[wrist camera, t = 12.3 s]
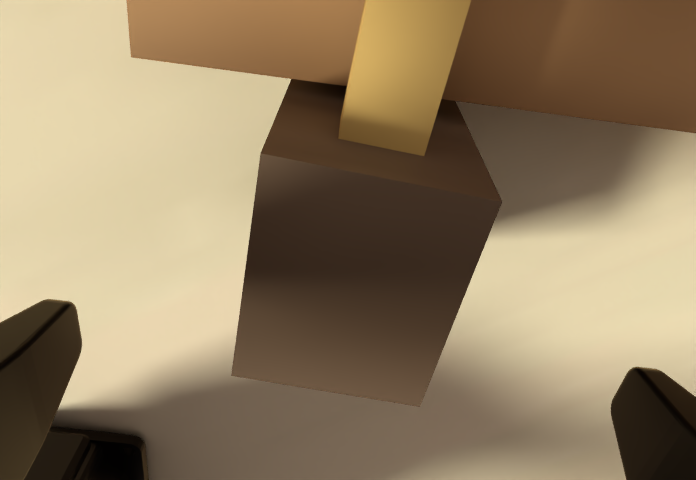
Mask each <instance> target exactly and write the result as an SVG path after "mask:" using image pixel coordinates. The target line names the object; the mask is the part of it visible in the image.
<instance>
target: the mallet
mask: <svg viewBox="0 0 696 480" xmlns="http://www.w3.org/2000/svg"><path fill="white" fill-rule="evenodd" d="M470 3H471V0H365V2H364V7H363V11H362V16H361V21H360V26H359V31H358V36H357V40H356V45H355V50H354V55H353V60H352V65H351V70H350V74H349V79H348V84H347V86H342V85H334V84H327V83H319V82H312V81H305V80H297V79H291V82H290V84H289V86H288V89H287V91H286V94H285V96H284V99H283V101H282V103H281V106H280V108H279V111H278V113H277V115H276V118H275V120H274V123H273V125H272V127H271V130H270V132H269V135H268V137H267V139H266V142H265V144H264V147H263V149H262V151H261V155H260V163H259V170H258V178H257V185H256V193H255V201H254V208H253V216H252V223H251V231H250V239H249V246H248V254H247V261H246V269H245V277H244V284H243V292H242V299H241V307H240V315H239V322H238V330H237V337H236V345H235V353H234V360H233V368H232V375H231V376H237V377H243V378H249V379H255V380H261V381H267V382H273V383H279V384H285V385H291V386H297V387H303V388H310V389H316V390H322V391H328V392H334V393H340V394H346V395H352V396H358V397H364V398H370V399H376V400H382V401H388V402H394V403H401V404H407V405H413V406H419V407H420V405H421V402H422V400H423V397H424V395H425V392H426V390H427V387H428V385H429V382H430V380H431V377H432V375H433V373H434V370H435V368H436V365H437V363H438V360H439V358H440V355H441V353H442V350H443V348H444V345H445V343H446V340H447V338H448V335H449V333H450V330H451V328H452V325H453V323H454V320H455V318H456V315H457V313H458V310H459V308H460V305H461V303H462V300H463V298H464V295H465V293H466V290H467V288H468V285H469V283H470V280H471V278H472V275H473V273H474V270H475V268H476V265H477V263H478V261H479V258H480V256H481V253H482V251H483V248H484V246H485V243H486V241H487V238H488V236H489V233H490V231H491V228H492V226H493V223H494V221H495V218H496V216H497V213H498V211H499V208H500V206H501V203H502V200H501V198H500V196H499V194H498V192H497V190H496V188H495V185H494V183H493V181H492V179H491V177H490V175H489V173H488V170H487V168H486V166H485V164H484V162H483V160H482V158H481V155H480V153H479V151H478V149H477V147H476V145H475V143H474V140H473V138H472V136H471V134H470V132H469V130H468V127H467V125H466V123H465V121H464V119H463V117H462V115H461V112H460V110H459V108H458V106H457V104H456V102H455V101H453V100H446V99H442V95H443V92H444V89H445V85H446V82H447V79H448V75H449V72H450V69H451V66H452V62H453V59H454V56H455V52H456V49H457V46H458V42H459V39H460V36H461V32H462V29H463V26H464V22H465V19H466V16H467V12H468V9H469V6H470Z"/></svg>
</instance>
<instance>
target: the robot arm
mask: <svg viewBox="0 0 696 480" xmlns="http://www.w3.org/2000/svg"><path fill="white" fill-rule="evenodd" d="M81 348H82V338H81V332H80V326H79V321H78V315H77V310H76V307H75V305H74V304H73V303H72V302H69V301H62V300H53V299H46V300H43V301H41V302H39V303H37V304H35V305H33V306H31V307H29V308H27V309H25V310H23V311H22V312H20V313H18V314H16V315H14V316H12V317H10V318H8V319H6V320H4V321H2V322H1V323H0V480H149V478H148V469H147V459H146V449H145V443H144V441H143V440H142V439H141V438H139V437H137V436H133V435H125V434H116V433H106V432H96V431H87V430H77V429H67V428H58V427H51V424H52V422H53V419H54V417H55V415H56V412H57V410H58V407H59V405H60V402H61V400H62V398H63V395H64V393H65V390H66V388H67V385H68V383H69V381H70V378H71V376H72V373H73V371H74V368H75V366H76V364H77V361H78V359H79V356H80V353H81ZM611 416H612V421H613V425H614V429H615V433H616V438H617V442H618V446H619V450H620V455H621V459H622V463H623V467H624V472H625V476H626V480H696V397H695V396H694V395H692V394H691V393H690V392H688V391H687V390H686V389H684V388H683V387H682V386H680V385H679V384H678V383H677V382H675V381H674V380H673V379H671V378H670V377H669V376H667V375H666V374H665V373H663V372H662V371H660V370H657V369H652V368H643V367H633V368H632V369H630V370H629V371H628V373H627V374H626V376H625V378H624V380H623V382H622V384H621V385H620V387H619V389H618V391H617V393H616V394H615V396H614V398H613V400H612V404H611Z"/></svg>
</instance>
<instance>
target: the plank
mask: <svg viewBox="0 0 696 480" xmlns="http://www.w3.org/2000/svg"><path fill="white" fill-rule="evenodd" d="M364 2H365V0H127V11H128V23H129V36H130V49H131V57H134V58H141V59H148V60H156V61H163V62H171V63H178V64H186V65H193V66H201V67H208V68H215V69H223V70H230V71H238V72H245V73H253V74H260V75H267V76H275V77H282V78H290V79H297V80H305V81H312V82H319V83H327V84H334V85H342V86H347V84H348V79H349V74H350V70H351V65H352V60H353V55H354V50H355V45H356V40H357V36H358V31H359V26H360V21H361V16H362V11H363V7H364ZM442 99H446V100H453V101H461V102H468V103H476V104H483V105H490V106H498V107H505V108H513V109H520V110H528V111H535V112H542V113H550V114H557V115H565V116H572V117H580V118H587V119H594V120H602V121H609V122H617V123H624V124H632V125H639V126H646V127H654V128H661V129H669V130H676V131H684V132H691V133H696V0H471V3H470V6H469V9H468V12H467V16H466V19H465V22H464V26H463V29H462V32H461V36H460V39H459V42H458V46H457V49H456V52H455V56H454V59H453V62H452V66H451V69H450V72H449V75H448V79H447V82H446V85H445V89H444V92H443V95H442Z"/></svg>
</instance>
